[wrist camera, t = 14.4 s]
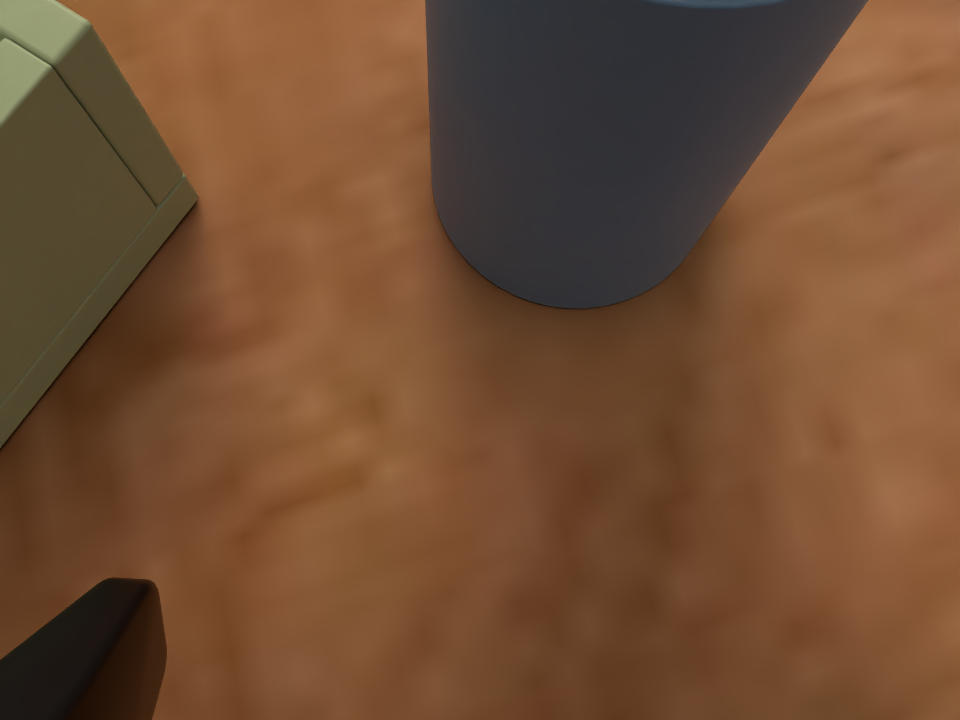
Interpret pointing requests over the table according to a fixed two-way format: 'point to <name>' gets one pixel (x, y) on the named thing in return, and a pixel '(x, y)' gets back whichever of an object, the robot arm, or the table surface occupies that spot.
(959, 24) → the table surface
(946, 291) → the table surface
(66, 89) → the green square tray
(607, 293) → the peg doll
